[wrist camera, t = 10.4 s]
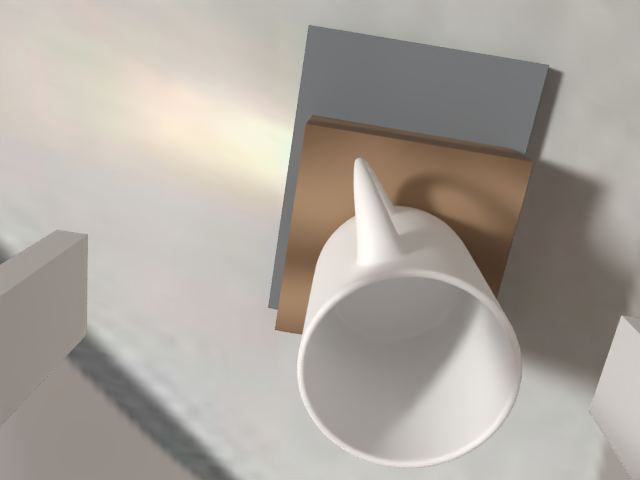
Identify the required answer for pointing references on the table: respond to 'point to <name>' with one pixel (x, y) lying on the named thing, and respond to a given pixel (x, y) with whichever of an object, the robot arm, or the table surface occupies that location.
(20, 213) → the table surface
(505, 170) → the walnut block
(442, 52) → the slate tile
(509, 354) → the mug
